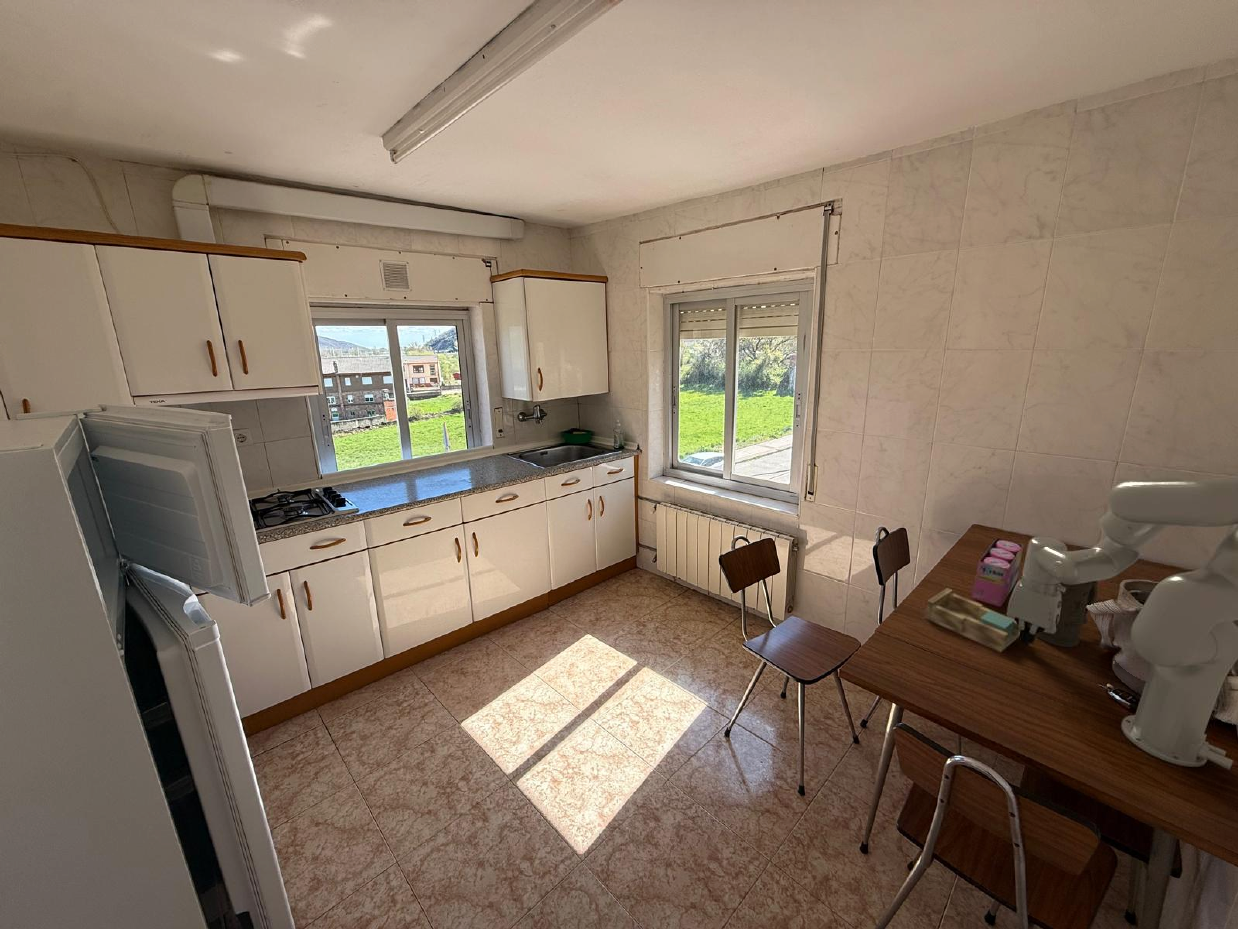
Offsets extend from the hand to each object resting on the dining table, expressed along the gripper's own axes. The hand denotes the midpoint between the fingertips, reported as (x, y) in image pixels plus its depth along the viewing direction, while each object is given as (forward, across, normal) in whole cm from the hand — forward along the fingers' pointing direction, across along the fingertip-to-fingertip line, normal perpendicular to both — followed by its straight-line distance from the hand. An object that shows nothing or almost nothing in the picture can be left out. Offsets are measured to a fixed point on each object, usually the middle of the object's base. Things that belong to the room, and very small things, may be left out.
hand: (1025, 642), depth 135 cm
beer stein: (+3, -3, -16) cm, 16 cm away
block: (+1, +7, 0) cm, 7 cm away
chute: (+3, +13, 0) cm, 13 cm away
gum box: (+3, +18, -28) cm, 34 cm away
